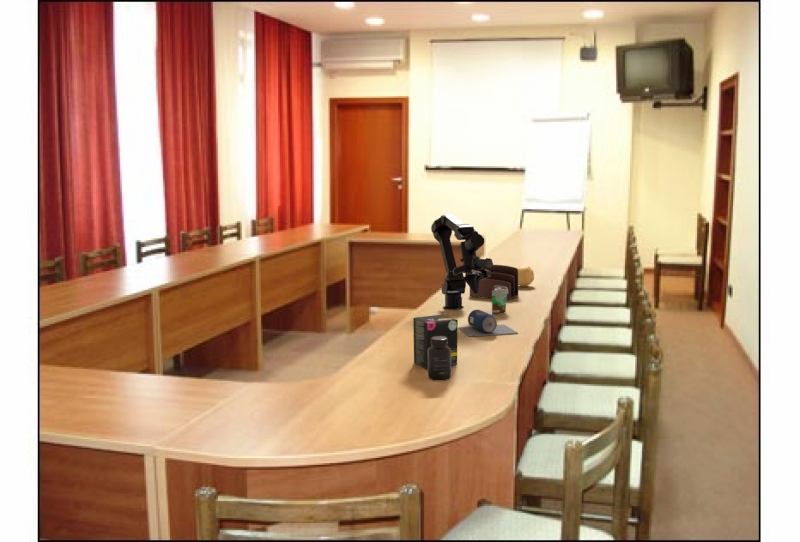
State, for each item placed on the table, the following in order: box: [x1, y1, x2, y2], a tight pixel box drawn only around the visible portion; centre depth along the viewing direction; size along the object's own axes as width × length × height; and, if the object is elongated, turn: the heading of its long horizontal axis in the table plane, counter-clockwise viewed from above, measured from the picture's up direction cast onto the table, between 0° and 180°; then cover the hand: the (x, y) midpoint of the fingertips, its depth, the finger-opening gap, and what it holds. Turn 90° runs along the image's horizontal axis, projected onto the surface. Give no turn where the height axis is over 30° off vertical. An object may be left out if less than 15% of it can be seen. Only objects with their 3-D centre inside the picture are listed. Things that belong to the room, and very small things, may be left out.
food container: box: [491, 285, 508, 315], centre depth 311 cm, size 12×6×10 cm, turn 168°
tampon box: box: [412, 314, 459, 371], centre depth 236 cm, size 11×9×15 cm
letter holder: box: [469, 264, 519, 301], centre depth 344 cm, size 10×20×14 cm, turn 60°
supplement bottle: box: [427, 336, 452, 381], centre depth 222 cm, size 7×7×12 cm
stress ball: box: [516, 265, 535, 288], centre depth 368 cm, size 10×10×10 cm
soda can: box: [467, 309, 498, 333], centre depth 278 cm, size 7×7×12 cm
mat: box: [458, 323, 519, 338], centre depth 279 cm, size 14×18×1 cm
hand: (476, 293), depth 298 cm, fingers closed
